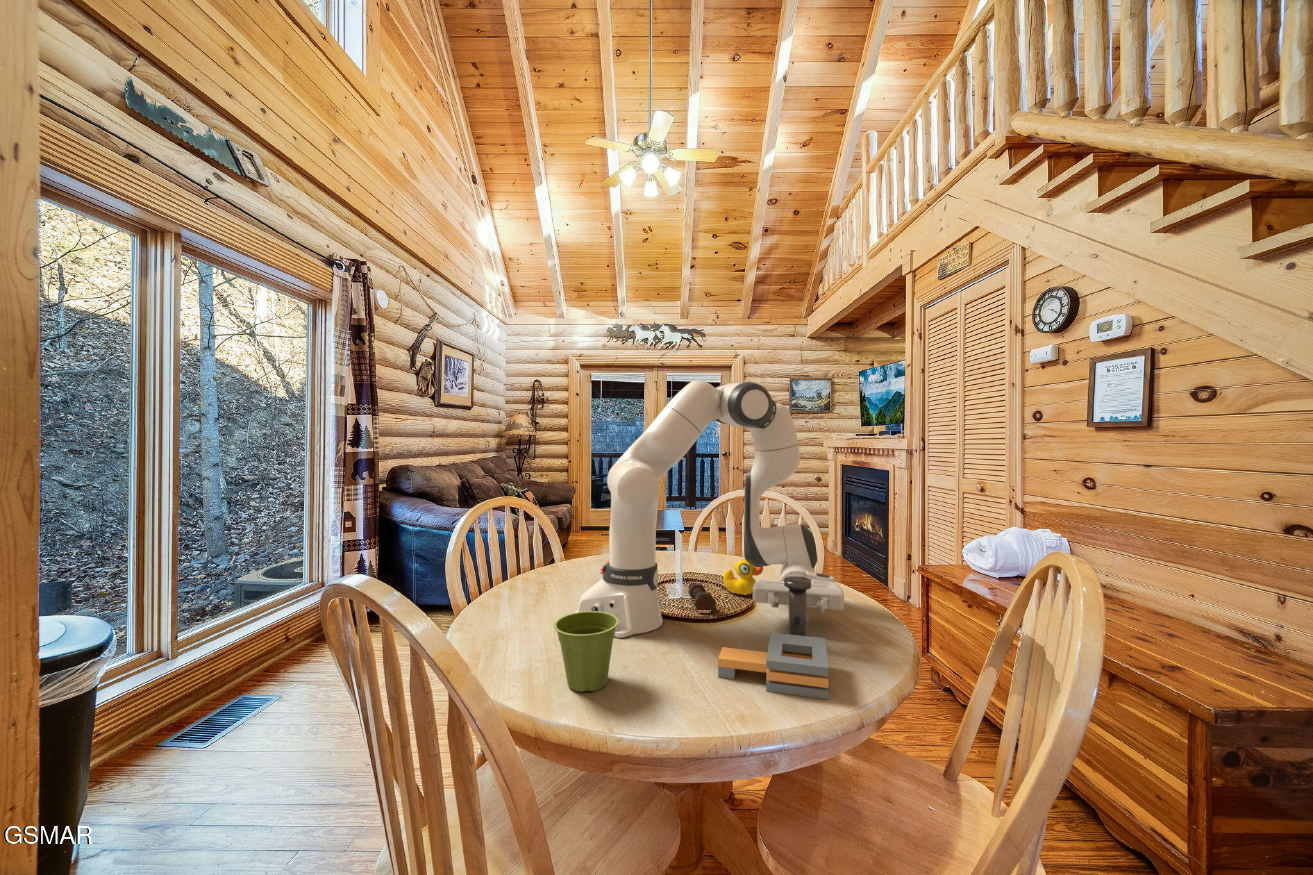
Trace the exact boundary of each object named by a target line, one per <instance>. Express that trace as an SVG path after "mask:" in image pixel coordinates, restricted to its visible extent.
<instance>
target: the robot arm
mask: <svg viewBox="0 0 1313 875" xmlns="http://www.w3.org/2000/svg"><path fill="white" fill-rule="evenodd" d="M714 421H716V422H718V423H721V424H724V425H729V426H732V427H738V428H740V427H741V428H742V427H744V428H745V427H746V428H747V429H748V431H749V432H750V434H751V437H752V443H753V448H754V449H753V450H754V459H753V460H754V461H753V464H752V466H751V468H749V469H747V471H746V475H745V479H744V496H743V497H744V499H743V500H744V501H743V502H744V504H743V506H744V507H743V509H744V510H743V512H744V514H743V516H744V517H743V520H744V525H743V529H744V530H743V537H742V544H741V548H742V553H743V554H742V555H743V557H744V559H745V560H746V561H747V562H749V563H750V564H751V565H753V566H755V568H759V567H763V568H764V567H768V566H772V565H782V567H781V569H780V574H779V580H776V579H775V580H774V579H759V580H757V581H756V583H755V584H754V586H753V592H752V601H754V602H755V603H759V604H769V605H771V608H774V609H775V608H779V605H780V606H781V605H782V606H789V588H787V587H785V586H784V578H786V577H789V576H800V577H805V578H808V579H810V580H811V588H810V589H807V590H806V608H813V609H816V612H820V613H824V611H825V610H831V611H832V610H833V611H834V610H835V611H842V610H845V593H844V590H843V588H842V586H840V585H841V584H838V583H837V582H836V578H835V576H831V575H826V574H824V573H822V574H821V573H818V572H815V570H814V568H815V567H816V564H817V563H818V553H817V546H816V541H815V537H814V535H813V532H812V531H811V530H810V529H809V528H808V527H807V526H805V525H804V524H802V523H799V524H798V523H797V524H787V525H786V524H785V525H780V526H771V527H769V526H768V527H764V526H761V525H760V513H761V512H760V509H761V508H760V506H761V505H760V504H761V503H760V502H761V497H762V496H763V494H764V493H766V491H768V490H770V489H771V488H773V487H775V486H777V485H778V484H781V483H783V482H784V481H786V480H787V479H789V478H790V477H792V475H794V473H796V472H797V469H798V467H799V465H800V461H801V455H800V454H801V453H800V446H799V439H798V435H797V430H796V426H795V424H794V423H795V422H794V420H793V417H792V415H791V412H790V410H789V408H788V407H787V406H786V405H784V404H782V403H777V402H775V401H774V400H773V398H772V396H771V394H770V393H769V391H768V390H767V389H766V388H765V386H763V385H761V384H760V383H756V382H752V381H743V382H742V381H734V382H733V381H732V382H730V383H729V382H728V383H722V384H720V385H718V386H715V387H714V386H713V385H712V384H711V383H709V382H708V381H704V380H701V379H695V380H691V381H690V382H688V383H687V384H686V385H685V386H684V387H683V388H682V389H681V390H679V391H678V392H677V393H676V394H675V395H674V396H673V397H672V398H671V399H670V401H669V402H668V403H667V404H666V405H665V407H664V408H663V409H662V410H661V411H660V413H658V414H657V416H656V417H655V419H654V420H653V421H652V422H651V423H650V425H649V426H648V427H647V428H646V430H645V431H644V432H642V434H641V435H640V436H639V437H638V438H637V439H636V440H635V441H634V442H633V443H632V444H631V445H630V446H629V447H628V448H627V449H626V450H625V452H624V453H623V454H621V456H620V457H619V458H618V459H617V461H615V463H614V464H613V465H612V466H611V468H609V469H610V470H609V471H608V474H607V477H606V480H607V481H606V484H607V488H608V490H609V492H610V520H609V521H610V522H609V530H608V531H609V532H608V534H609V536H608V538H609V540H608V541H609V543H608V545H609V547H608V548H609V549H608V550H609V560H607V561H606V562H605V564H604V565H602V568H600V570H599V571H600V572H599V574H600V575H602V578H601V579H599V580H598V581H597V582H595V583H594V585H592V586H591V587H589V588H588V589H587V590H586V591H584V592H583V594H582V595H581V597H580V599H579V602H578V609H577V610H575V611H574V612H573V613H576V612H583V611H600V612H607V613H610V614H613V615H615V616H616V617H617V618H618V619H619V624H618V626H617V627H616V630H615V636H614V638H618V639H622V638H623V639H624V638H627V637H630V636H633V635H638V634H644V633H648V632H652V631H654V630H657V629H658V628H661V626H662V625H663V622H664V620H663V617H662V614H661V608H660V604H659V598H658V597H659V596H658V589H657V588H658V584H659V570H658V563H657V560H656V556H657V554H656V553H657V552H656V548H657V547H656V544H657V543H656V542H657V541H656V539H657V538H656V533H657V522H658V513H659V502H660V501H659V499H660V491H661V490H660V489H661V488H660V487H661V483H660V480H661V478H663V476H665V474H666V473H667V472H669V470H670V469H672V467H674V466H675V465H676V464H677V463H679V462H680V461H682V459H683V458H684V456H686V454H687V453H688V451H690V449H691V448H692V447H693V445H694V444H695V443H696V442H697V440H698V439H699V438H700V437H701V435H702V434H703V433H704V431H705V430H706V429H707V427H709V425H710V424H712V423H713V422H714Z"/></svg>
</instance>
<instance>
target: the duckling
mask: <svg viewBox="0 0 1313 875" xmlns="http://www.w3.org/2000/svg"><path fill="white" fill-rule="evenodd" d="M733 567H734V568H733V569H734V570H735V573H736V574H737V575H738V577H739V578H738V577H735V575H734V572H733V570H732V569H727V570H725V571H724V573H723V579H722V580H723V584H724V585H723V586H724V587H725V588H726V589H727V591H729V592H730V593H732V592H733V594H734V593H737V594H749V595H752V594H753V586H754V584H755V583H756V582H757V581H756V580H755V578H754V577H753V576H759V575H761V574H762V573H763V570H764V566H763V567H758V568H757V567H755V566H753V565H751V564H750V563H749V562H747V561H746V560H745V558H744V559H741V560H739V561H737V562H736V563H734V565H733ZM737 594H736V595H737Z"/></svg>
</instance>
